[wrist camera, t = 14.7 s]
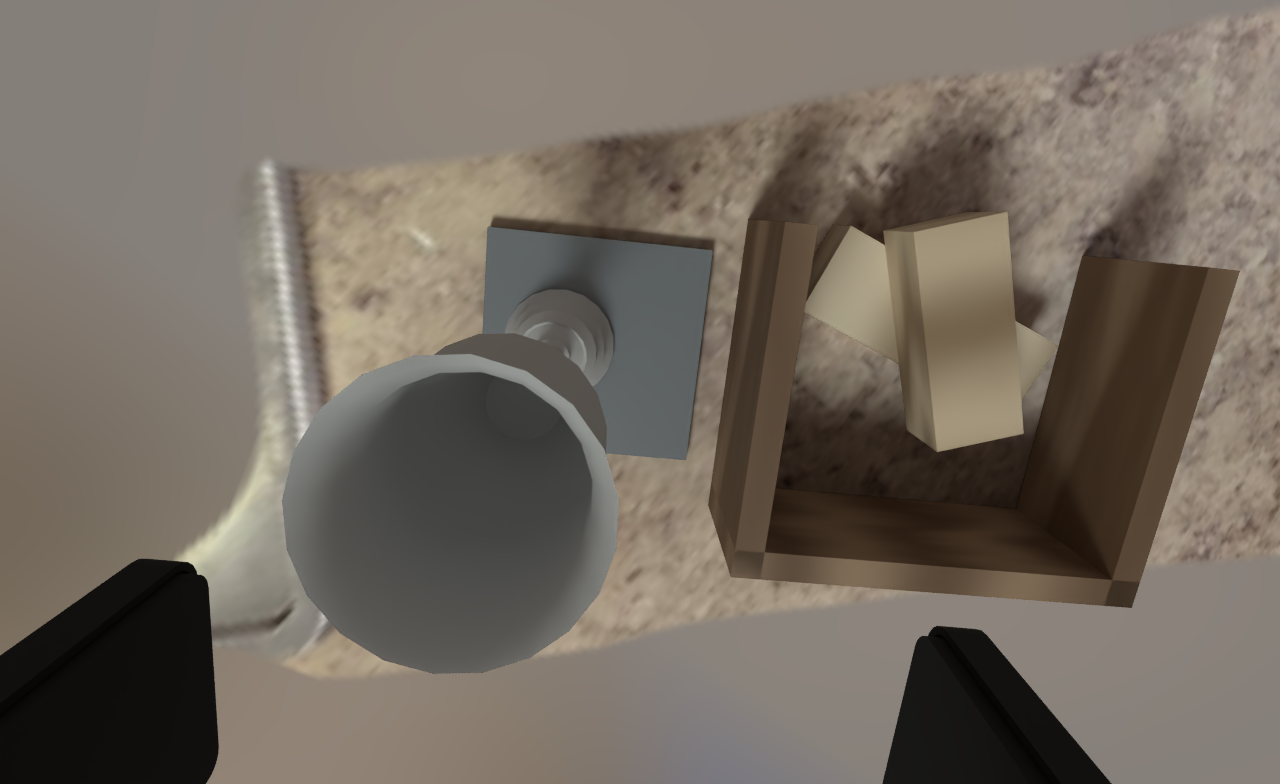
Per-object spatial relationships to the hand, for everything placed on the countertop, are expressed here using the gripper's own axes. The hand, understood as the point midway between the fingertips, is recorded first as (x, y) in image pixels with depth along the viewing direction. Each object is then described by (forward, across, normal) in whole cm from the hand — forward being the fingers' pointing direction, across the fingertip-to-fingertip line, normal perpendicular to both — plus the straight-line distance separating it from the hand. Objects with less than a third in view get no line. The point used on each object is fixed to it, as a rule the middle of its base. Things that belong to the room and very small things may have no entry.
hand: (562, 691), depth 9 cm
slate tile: (+24, +1, 0) cm, 24 cm away
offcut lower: (+25, -14, -3) cm, 28 cm away
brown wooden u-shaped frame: (+24, -14, +1) cm, 28 cm away
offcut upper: (+22, -14, -3) cm, 26 cm away
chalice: (+23, +2, 0) cm, 24 cm away
